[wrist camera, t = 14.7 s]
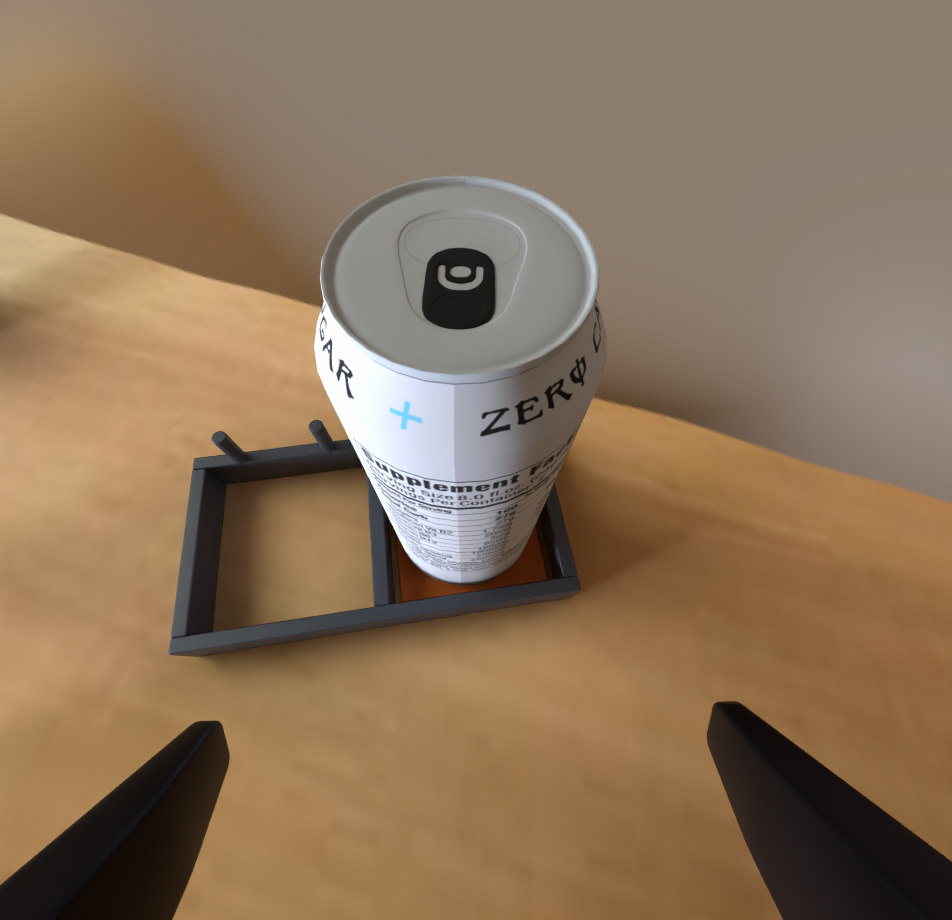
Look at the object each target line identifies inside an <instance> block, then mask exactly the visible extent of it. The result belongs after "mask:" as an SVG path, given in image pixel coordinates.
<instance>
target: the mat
mask: <svg viewBox="0 0 952 920" xmlns="http://www.w3.org/2000/svg"><path fill="white" fill-rule="evenodd" d="M396 536H397V548H398V561H399V574H400V586H401V599H402V603H403V602H410V601H416V600H423V599H429V598H436V597H442V596H449V595H455V594H461V593H468V592H474V591H481V590H487V589H494V588H500V587H507V586H513V585H520V584H526V583H533V582H539V581H546V580H548V579H547V574H546V569H545V565H544V560H543V556H542V551H541V546H540V542H539V537H538V533H537V528H536V524H535V526H534V528H533V530H532V533H531V535H530V537H529V539H528V541H527V544H526V546H525V548H524V549H523V551H522V553H521V555H520V557H519V558H518V559H517V560H516V561H515V563H514V564H513V565H512V566H511V567H510V568H509V569H507V570H506V571H505V572H504V573H502V574H501V575H499V576H497V577H495V578H493V579H492V580H490V581H487V582H483V583H479V584H476V585H454V584H447V583H445V582H442V581H439V580H436V579H434V578H432V577H431V576H429V575H427V574H426V573H424V572H423V571H422V570H420V569H419V568H418V567H417V566H416V565H415V564H414V563H413V562H412V560H411V559H410V557H409V556H408V555H407V553H406V552H405V549H404V547H403V545H402V543H401V541H400V539H399V537H398V535H397V533H396Z"/></svg>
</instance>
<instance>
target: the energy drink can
mask: <svg viewBox="0 0 952 920" xmlns="http://www.w3.org/2000/svg"><path fill="white" fill-rule="evenodd" d="M320 281H321V287H322V293H323V299H324V304H323V307H322V310H321V312H320V315H319V318H318V321H317V328H316V337H315V346H314V349H315V356H316V363H317V370H318V373H319V375H320V378H321V380H322V383H323V385H324V387H325V390H326V392H327V394H328V396H329V398H330V400H331V402H332V404H333V406H334V408H335V410H336V412H337V414H338V416H339V418H340V421H341V423H342V425H343V427H344V429H345V431H346V433H347V435H348V437H349V439H350V441H351V443H352V445H353V447H354V449H355V451H356V453H357V455H358V457H359V459H360V461H361V463H362V465H363V467H364V469H365V471H366V473H367V475H368V477H369V479H370V481H371V483H372V485H373V487H374V489H375V491H376V493H377V495H378V497H379V499H380V501H381V503H382V505H383V507H384V509H385V511H386V513H387V515H388V517H389V519H390V521H391V523H392V525H393V527H394V529H395V531H396V533H397V535H398V537H399V539H400V541H401V543H402V545H403V547H404V549H405V552H406V553H407V555H408V556H409V557H410V559H411V560H412V562H413V563H414V564H415V565H416V566H417V567H418V568H419V569H420V570H422V571H423V572H424V573H426V574H427V575H429V576H431V577H432V578H434V579H436V580H439V581H442V582H445V583H447V584H454V585H476V584H479V583H483V582H487V581H490V580H492V579H493V578H495V577H497V576H499V575H501V574H502V573H504V572H505V571H506V570H507V569H509V568H510V567H511V566H512V565H513V564H514V563H515V561H516V560H517V559H518V558H519V557H520V555H521V553H522V551H523V549H524V548H525V546H526V544H527V541H528V539H529V537H530V535H531V533H532V530H533V528H534V526H535V524H536V522H537V519H538V517H539V515H540V513H541V511H542V508H543V506H544V504H545V502H546V500H547V497H548V495H549V493H550V491H551V489H552V486H553V484H554V482H555V480H556V478H557V476H558V473H559V471H560V469H561V467H562V465H563V462H564V460H565V458H566V456H567V454H568V451H569V449H570V447H571V445H572V443H573V440H574V438H575V436H576V434H577V432H578V429H579V427H580V425H581V423H582V421H583V418H584V416H585V414H586V412H587V410H588V407H589V405H590V403H591V401H592V399H593V396H594V394H595V392H596V390H597V388H598V385H599V383H600V381H601V377H602V373H603V369H604V365H605V361H606V332H605V328H604V324H603V320H602V316H601V312H600V308H599V306H598V303H597V301H596V296H597V293H598V289H599V266H598V263H597V259H596V255H595V251H594V248H593V246H592V244H591V242H590V241H589V239H588V237H587V235H586V233H585V231H584V230H583V229H582V228H581V227H580V225H579V224H578V223H577V222H576V221H575V220H574V219H573V218H572V216H571V215H570V214H568V213H567V212H566V211H565V210H563V209H562V208H561V207H559V206H558V205H557V204H556V203H554V202H553V201H551V200H549V199H547V198H546V197H544V196H542V195H540V194H538V193H536V192H534V191H532V190H529V189H527V188H524V187H521V186H519V185H516V184H514V183H509V182H505V181H501V180H496V179H492V178H485V177H474V176H441V177H434V178H427V179H420V180H416V181H413V182H409V183H406V184H402V185H399V186H396V187H393V188H391V189H389V190H387V191H384V192H382V193H380V194H378V195H375V196H374V197H373V198H371V199H369V200H368V201H366V202H365V203H363V204H361V205H360V206H359V207H357V208H356V209H355V210H354V211H353V212H352V213H350V214H349V215H348V216H347V217H346V218H345V219H344V220H343V221H342V222H341V223H340V225H339V226H338V228H337V229H336V231H335V232H334V233H333V235H332V236H331V238H330V239H329V242H328V245H327V247H326V249H325V252H324V255H323V257H322V264H321V273H320Z"/></svg>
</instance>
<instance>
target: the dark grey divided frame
mask: <svg viewBox="0 0 952 920" xmlns="http://www.w3.org/2000/svg"><path fill="white" fill-rule="evenodd" d="M309 429H310V431H311V433H312V434H313V436H314V437H315V439H316V440H317V442H318V443H315V444H307V445H299V446H291V447H283V448H275V449H267V450H258V451H250V452H244V451H243V450H242V449H241V448H240V447H239V446H238V445H237V444H236V443H235V442H234V441H233V440H232V439H231V438H230V437H229V436H228V435H227V434H226V433H225V432H222V431H219V432H216V433H214V434H213V436H212V442H213V443H214V444H215V445H216V446H218V447H219V448H220V449H221V450H222V451H223V452H224V453H225V454H226V455H218V456H210V457H201V458H195V459H194V463H193V471H192V478H191V486H190V494H189V501H188V509H187V517H186V524H185V532H184V540H183V547H182V555H181V563H180V571H179V578H178V586H177V594H176V601H175V609H174V617H173V624H172V632H171V638H172V639H171V640H170V646H169V655H179V656H194V657H198V656H205V655H211V654H217V653H223V652H230V651H236V650H242V649H249V648H255V647H261V646H268V645H274V644H280V643H287V642H293V641H299V640H305V639H312V638H318V637H324V636H331V635H337V634H343V633H350V632H356V631H362V630H368V629H375V628H381V627H387V626H394V625H400V624H406V623H413V622H419V621H425V620H432V619H438V618H444V617H450V616H457V615H463V614H469V613H476V612H482V611H488V610H495V609H501V608H507V607H514V606H520V605H526V604H532V603H539V602H545V601H551V600H558V599H564V598H570V597H572V596H573V595H574V594H576V593H577V592H578V591H580V590H581V588H580V584H579V580H578V577H577V572H576V568H575V563H574V559H573V555H572V551H571V547H570V543H569V539H568V535H567V531H566V527H565V523H564V519H563V515H562V511H561V507H560V503H559V499H558V495H557V491H556V487H555V483H554V484H553V486H552V489H551V491H550V493H549V495H548V497H547V500H546V502H545V504H544V506H543V508H542V511H541V513H540V515H539V516H540V520H541V524H542V529H543V533H544V538H545V542H546V547H547V551H548V556H549V560H550V565H551V569H552V573H553V578H554V579H552V580H546V581H539V582H533V583H526V584H520V585H513V586H507V587H500V588H494V589H487V590H481V591H474V592H468V593H461V594H455V595H449V596H442V597H436V598H429V599H423V600H416V601H410V602H403V603H397V604H395V592H394V578H393V564H392V551H391V537H390V523H389V517H388V515H387V513H386V511H385V509H384V507H383V505H382V503H381V501H380V499H379V497H378V495H377V493H376V491H375V489H374V487H373V485H372V483H371V481H370V479H369V477H368V475H367V482H368V501H369V520H370V538H371V557H372V576H373V595H374V606H375V607H371V608H364V609H358V610H351V611H345V612H339V613H332V614H326V615H319V616H313V617H306V618H300V619H293V620H287V621H280V622H274V623H267V624H261V625H254V626H248V627H242V628H235V629H229V630H222V631H216V632H212V631H213V620H214V609H215V599H216V588H217V577H218V566H219V556H220V545H221V534H222V524H223V513H224V502H225V491H226V485H225V484H232V483H240V482H247V481H255V480H263V479H271V478H279V477H286V476H294V475H302V474H310V473H318V472H325V471H333V470H341V469H349V468H357V467H363V465H362V463H361V461H360V459H359V457H358V455H357V453H356V451H355V449H354V447H353V445H352V443H351V441H350V439H348V440H340V441H332V439H331V437H330V435H329V434H328V432H327V430H326V428H325V426H324V425H323V423H322V422H321V421H320V420H314V421H312V422H311V423H310V424H309Z"/></svg>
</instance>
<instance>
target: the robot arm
mask: <svg viewBox="0 0 952 920" xmlns="http://www.w3.org/2000/svg"><path fill="white" fill-rule="evenodd" d="M707 742H708V746H709V749H710V752H711V755H712V757H713V760H714V762H715V765H716V768H717V770H718V773H719V775H720V778H721V780H722V783H723V786H724V788H725V791H726V793H727V796H728V798H729V801H730V804H731V806H732V809H733V811H734V814H735V816H736V819H737V822H738V824H739V827H740V829H741V832H742V834H743V837H744V839H745V841H746V844H747V846H748V848H749V850H750V853H751V855H752V857H753V859H754V861H755V863H756V865H757V867H758V869H759V871H760V874H761V876H762V878H763V880H764V882H765V884H766V886H767V888H768V890H769V892H770V894H771V896H772V898H773V900H774V902H775V904H776V906H777V908H778V910H779V912H780V914H781V917H782V919H783V920H952V862H951V861H950V860H949V859H948V858H946V857H945V856H944V855H942V854H941V853H940V852H938V851H937V850H936V849H934V848H933V847H932V846H930V845H929V844H928V843H926V842H925V841H924V840H922V839H921V838H920V837H918V836H917V835H916V834H914V833H913V832H912V831H910V830H909V829H908V828H906V827H905V826H904V825H902V824H901V823H900V822H898V821H897V820H896V819H894V818H893V817H892V816H890V815H889V814H888V813H886V812H885V811H884V810H882V809H881V808H880V807H878V806H877V805H876V804H874V803H873V802H872V801H870V800H869V799H868V798H866V797H865V796H864V795H862V794H861V793H860V792H858V791H857V790H856V789H854V788H853V787H852V786H850V785H849V784H848V783H846V782H845V781H844V780H842V779H841V778H840V777H838V776H837V775H836V774H834V773H833V772H832V771H830V770H829V769H828V768H826V767H825V766H824V765H822V764H821V763H820V762H818V761H817V760H816V759H814V758H813V757H812V756H810V755H809V754H808V753H806V752H805V751H804V750H802V749H801V748H800V747H798V746H797V745H796V744H794V743H793V742H792V741H790V740H789V739H788V738H787V737H785V736H784V735H783V734H781V733H780V732H779V731H777V730H776V729H775V728H773V727H772V726H771V725H769V724H768V723H767V722H765V721H764V720H763V719H761V718H760V717H759V716H757V715H756V714H755V713H753V712H752V711H751V710H749V709H748V708H747V707H745V706H744V705H742V704H741V703H739V702H736V701H726V702H716V703H715V704H714V705H713V708H712V713H711V717H710V722H709V726H708V731H707ZM229 758H230V754H229V749H228V745H227V741H226V737H225V734H224V730H223V726H222V724H221V723H220V722H219V721H198V722H195V723H193V724H192V725H190V726H189V727H188V728H187V729H185V730H184V731H183V732H182V733H181V734H179V735H178V736H177V737H176V738H175V739H174V740H172V741H171V742H170V743H169V744H168V745H166V746H165V747H164V748H163V749H162V750H160V751H159V752H158V753H157V754H156V755H154V756H153V757H152V758H151V759H150V760H149V761H147V762H146V763H145V764H144V765H143V766H141V767H140V768H139V769H138V770H137V771H135V772H134V773H133V774H132V775H131V776H130V777H128V778H127V779H126V780H125V781H124V782H122V783H121V784H120V785H119V786H118V787H116V788H115V789H114V790H113V791H112V792H110V793H109V794H108V795H107V796H106V797H105V798H103V799H102V800H101V801H100V802H99V803H97V804H96V805H95V806H94V807H93V808H91V809H90V810H89V811H88V812H87V813H85V814H84V815H83V816H82V817H81V818H80V819H78V820H77V821H76V822H75V823H74V824H72V825H71V826H70V827H69V828H68V829H66V830H65V831H64V832H63V833H62V834H60V835H59V836H58V837H57V838H56V839H55V840H53V841H52V842H51V843H50V844H49V845H47V846H46V847H45V848H44V849H43V850H41V851H40V852H39V853H38V854H37V855H35V856H34V857H33V858H32V859H31V860H30V861H28V862H27V863H26V864H25V865H24V866H22V867H21V868H20V869H19V870H18V871H16V872H15V873H14V874H13V875H12V876H11V877H9V878H8V879H7V880H6V881H5V882H3V883H2V884H1V885H0V920H172V919H173V917H174V914H175V912H176V910H177V907H178V905H179V903H180V900H181V898H182V896H183V894H184V891H185V889H186V886H187V884H188V881H189V879H190V877H191V874H192V872H193V869H194V866H195V863H196V861H197V858H198V855H199V852H200V849H201V846H202V843H203V840H204V837H205V834H206V831H207V828H208V825H209V822H210V820H211V817H212V814H213V811H214V808H215V805H216V802H217V799H218V796H219V793H220V790H221V787H222V784H223V781H224V778H225V775H226V772H227V769H228V765H229Z"/></svg>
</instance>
